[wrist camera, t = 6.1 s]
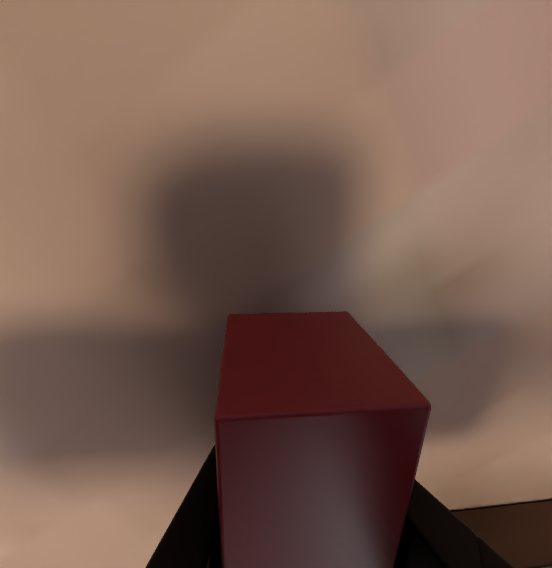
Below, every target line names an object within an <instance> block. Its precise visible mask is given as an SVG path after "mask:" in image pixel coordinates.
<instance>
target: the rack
mask: <svg viewBox="0 0 552 568" xmlns="http://www.w3.org/2000/svg"><path fill="white" fill-rule="evenodd" d="M452 513H453V514H454V515H455V516H456V517H458V518H459V519H460V520H461V521H462V522H463V523H464V524H465V525H467V526H468V527H469V528H470V529H471V530H472V531H473V532H474V533H475V534H476V537H477V536H479V537H480V538H481V539H482V540H484V541H485V542H486V543H487V544H488V545H489V546H490V547H491V548H493V549H494V550H495V551H496V552H497V553H498V554H499V555H501V556H502V557H503V558H504V559H505V560H506V561H507V562H509V563H510V564H511V565H512V566H513V567H514V568H552V501H543V502H535V503H526V504H517V505H509V506H500V507H491V508H483V509H474V510H466V511H457V512H452Z"/></svg>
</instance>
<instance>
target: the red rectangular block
mask: <svg viewBox="0 0 552 568" xmlns="http://www.w3.org/2000/svg"><path fill="white" fill-rule="evenodd" d="M430 411H431V404H430V402H429V401H428V400H427V399H426V397H425V396H424V395H423V394H422V393H421V392H420V391H419V390H418V389H417V388H416V386H415V385H414V384H413V383H412V382H411V381H410V380H409V379H408V378H407V377H406V375H405V374H404V373H403V372H402V371H401V370H400V369H399V368H398V367H397V366H396V364H395V363H394V362H393V361H392V360H391V359H390V358H389V357H388V356H387V355H386V353H385V352H384V351H383V350H382V349H381V348H380V347H379V346H378V345H377V344H376V342H375V341H374V340H373V339H372V338H371V337H370V336H369V335H368V334H367V333H366V331H365V330H364V329H363V328H362V327H361V326H360V325H359V324H358V323H357V322H356V320H355V319H354V318H353V317H352V316H351V315H350V314H349V313H348V312H303V313H258V314H229V315H228V316H227V322H226V330H225V337H224V345H223V353H222V361H221V369H220V376H219V384H218V392H217V400H216V408H215V415H214V428H215V448H216V467H217V487H218V506H219V526H220V545H221V565H222V568H394V565H395V560H396V556H397V552H398V548H399V543H400V539H401V535H402V531H403V526H404V522H405V518H406V513H407V509H408V505H409V501H410V496H411V492H412V488H413V483H414V479H415V475H416V471H417V466H418V462H419V458H420V453H421V449H422V445H423V441H424V436H425V432H426V428H427V423H428V419H429V415H430Z"/></svg>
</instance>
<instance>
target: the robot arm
mask: <svg viewBox="0 0 552 568" xmlns="http://www.w3.org/2000/svg"><path fill="white" fill-rule="evenodd" d="M146 568H222V565H221V545H220V526H219V506H218V487H217V467H216V448H215V445H214V446H213V448H212V450H211V452H210V453H209V455H208V457H207V459H206V461H205V462H204V464H203V466H202V468H201V470H200V471H199V473H198V475H197V477H196V478H195V480H194V482H193V484H192V486H191V487H190V489H189V491H188V493H187V495H186V496H185V498H184V500H183V502H182V503H181V505H180V507H179V509H178V511H177V512H176V514H175V516H174V518H173V520H172V521H171V523H170V525H169V527H168V528H167V530H166V532H165V534H164V536H163V537H162V539H161V541H160V543H159V544H158V546H157V548H156V550H155V552H154V553H153V555H152V557H151V559H150V561H149V562H148V564H147V566H146ZM394 568H514V567H513V566H512V565H511V564H510V563H509V562H507V561H506V560H505V559H504V558H503V557H502V556H501V555H499V554H498V553H497V552H496V551H495V550H494V549H493V548H491V547H490V546H489V545H488V544H487V543H486V542H485V541H484V540H482V539H481V538H480V537H479V536H477V537H476V534H475V533H474V532H473V531H472V530H471V529H470V528H469V527H468V526H467V525H465V524H464V523H463V522H462V521H461V520H460V519H459V518H458V517H456V516H455V515H454V514H453V513H452V512H451V511H450V510H449V509H448V508H446V507H445V506H444V505H443V504H442V503H441V502H440V501H439V500H437V499H436V498H435V497H434V496H433V495H432V494H431V493H430V492H428V491H427V490H426V489H425V488H424V487H423V486H422V485H421V484H420V483H418V482H417V481H416V480H415V479H414V483H413V488H412V492H411V496H410V501H409V505H408V509H407V513H406V518H405V522H404V526H403V531H402V535H401V539H400V543H399V548H398V552H397V556H396V560H395V565H394Z"/></svg>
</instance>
